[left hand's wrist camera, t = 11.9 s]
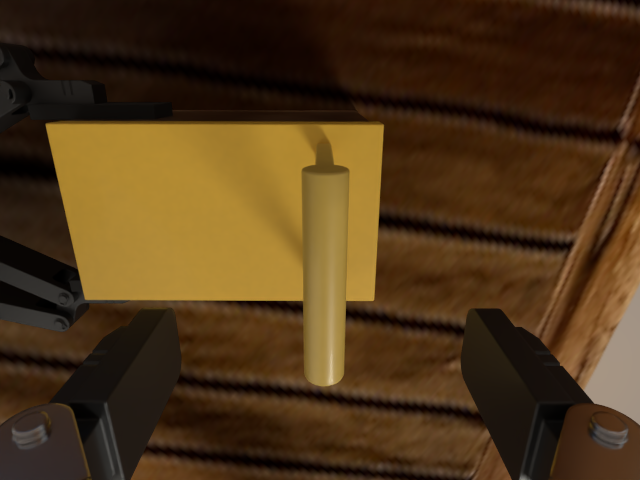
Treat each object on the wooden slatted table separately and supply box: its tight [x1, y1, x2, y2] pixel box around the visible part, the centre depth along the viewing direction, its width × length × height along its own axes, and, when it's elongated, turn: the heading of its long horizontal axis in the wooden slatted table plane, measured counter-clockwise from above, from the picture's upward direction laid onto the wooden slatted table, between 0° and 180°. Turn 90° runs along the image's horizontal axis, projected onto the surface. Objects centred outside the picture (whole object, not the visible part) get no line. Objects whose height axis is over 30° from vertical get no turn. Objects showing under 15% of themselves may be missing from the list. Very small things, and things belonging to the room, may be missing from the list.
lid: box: [46, 121, 384, 386], centre depth 18 cm, size 16×9×9 cm, turn 90°
